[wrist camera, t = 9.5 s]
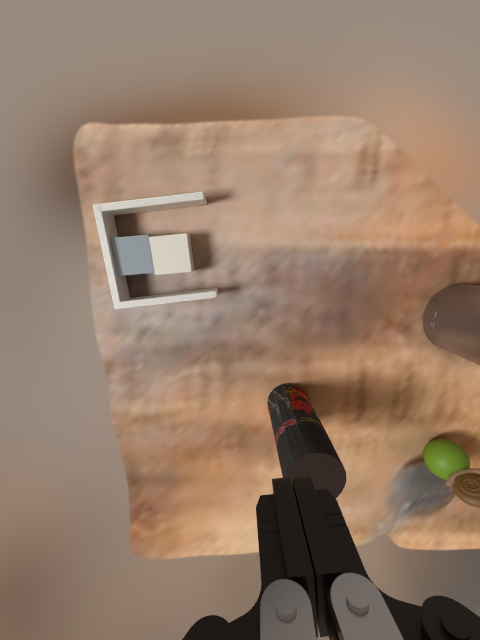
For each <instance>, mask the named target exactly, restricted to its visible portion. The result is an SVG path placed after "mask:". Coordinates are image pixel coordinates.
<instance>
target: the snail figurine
mask: <svg viewBox="0 0 480 640" xmlns="http://www.w3.org/2000/svg"><path fill="white" fill-rule="evenodd" d="M423 457H424V461H425V463H426V465H427V467H428V468H429V470H430V471H431V472H432V473H433V474H435V475H436V476H438V477H440V478H442V479H444V480H447V482H446V484H447V486H452V485H453V490H454V492H455V494H456V495H457V497H458V498H459V499H461V500H462V501H463V502H465V503H467V504H469V505H471V506H475V507H480V469H470V461H469V458H468V456H467V454H466V452H465V451H464V450H463V449H462V448H461V447H460V446H459V445H458V444H456V443H455V442H453V441H450V440H447V439H435V440H432V441H430V442H429V443H428V444H427V445H426V446H425V448H424V452H423Z"/></svg>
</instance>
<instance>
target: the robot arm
mask: <svg viewBox="0 0 480 640" xmlns="http://www.w3.org/2000/svg"><path fill="white" fill-rule="evenodd" d="M423 324H424V330H425V333H426V335H427V337H428V338H429V340H430V341H431V342H432V343H433V344H435V345H437V346H438V347H440V348H443V349H445V350H447V351H449V352H452V353H454V354H456V355H458V356H460V357H463V358H465V359H467V360H469V361H472V362H474V363H476V364H478V365H480V286H479V285H470V284H455V285H452V286H449V287H447V288H445V289H443V290H441V291H440V292H439V293H437V294H436V295H435V296H434V297H433V298H432V300H431V301H430V302H429V304H428V306H427V308H426V311H425V313H424V319H423ZM272 485H273V494H271V495H261V496H260V498H259V501H258V504H257V506H256V514H257V527H258V541H259V554H260V567H261V582H262V585H261V591H260V595H259V598H258V600H257V602H256V603H255V605H254V606H253V607H252V609H251V610H250V611H248V612H247V613H246V614H244V615H243V616H241V617H239V618H237V619H236V620H234V621H232V622H230V623H228V622H227V621H226V620H225V619H224V618H222V617H219V616H216V615H210V616H206V617H203V618H201V619H200V620H198V621H197V622H196V623H195V624H194V625H193V626H192V627H191V628H190V629H189V631H188V632H187V634H186V635H185V637H184V638H183V639H182V640H317V637H318V629H319V633H320V637H324V636H329V639H330V640H480V617H479V616H477V615H476V614H475V613H473V612H472V611H470V610H469V609H468V608H466V607H465V606H463V605H462V604H460V603H459V602H457V601H455V600H453V599H451V598H448V597H444V596H432V597H429V598H428V599H426V600H425V601H424V603H423V605H422V607H421V606H417V605H414V604H410V603H406V602H402V601H399V600H396V599H394V598H392V597H390V596H388V595H386V594H385V593H383V592H382V591H381V590H379V589H378V588H377V587H376V586H375V585H374V584H373V582H372V581H371V580H370V578H369V577H368V575H367V573H366V571H365V569H364V566H363V564H362V561H361V559H360V557H359V554H358V552H357V549H356V547H355V544H354V542H353V539H352V537H351V534H350V532H349V529H348V527H347V526H346V522H345V520H344V517H343V516H342V512H341V510H340V507H339V505H338V503H337V500H336V499H335V498H334V497H333V496H332V494H331V493H330V492H329V491H328V490H327V489H320V490H315V488H314V485H313V482H312V479H311V477H310V475H306V476H296V477H291V478H290V477H287V478H277V479H272ZM317 624H318V629H317Z"/></svg>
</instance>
